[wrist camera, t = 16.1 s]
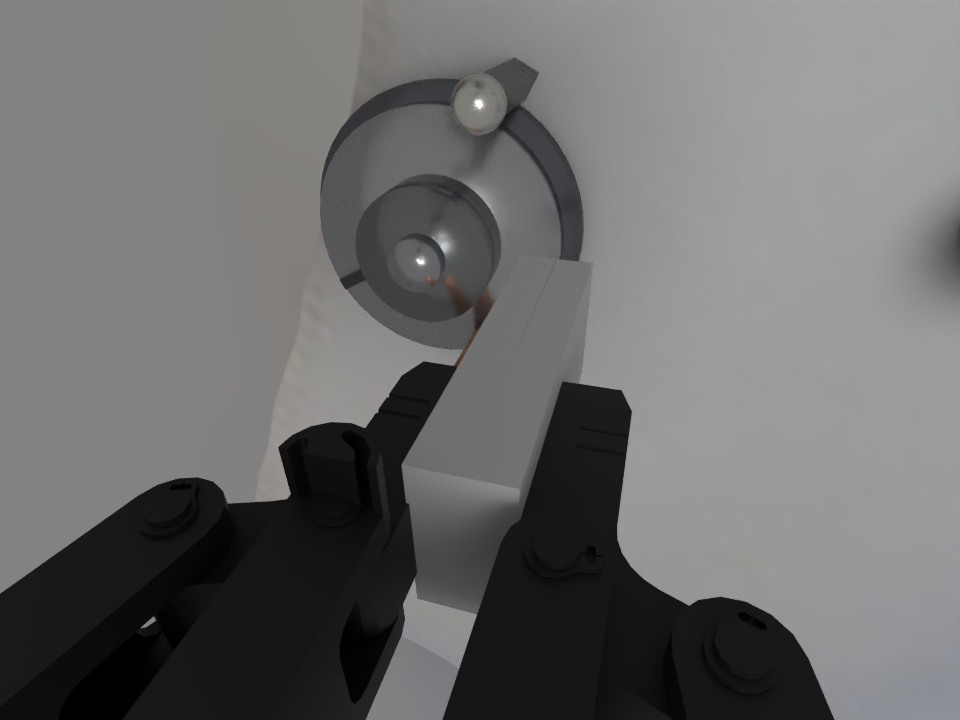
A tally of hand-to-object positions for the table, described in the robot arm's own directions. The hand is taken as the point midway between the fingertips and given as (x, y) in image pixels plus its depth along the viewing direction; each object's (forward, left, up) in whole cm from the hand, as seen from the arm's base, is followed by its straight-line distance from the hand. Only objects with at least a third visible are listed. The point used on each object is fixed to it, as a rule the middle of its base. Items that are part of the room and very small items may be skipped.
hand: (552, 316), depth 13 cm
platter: (-6, -12, -23) cm, 27 cm away
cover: (-6, -12, -22) cm, 26 cm away
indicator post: (-6, -2, -25) cm, 26 cm away
